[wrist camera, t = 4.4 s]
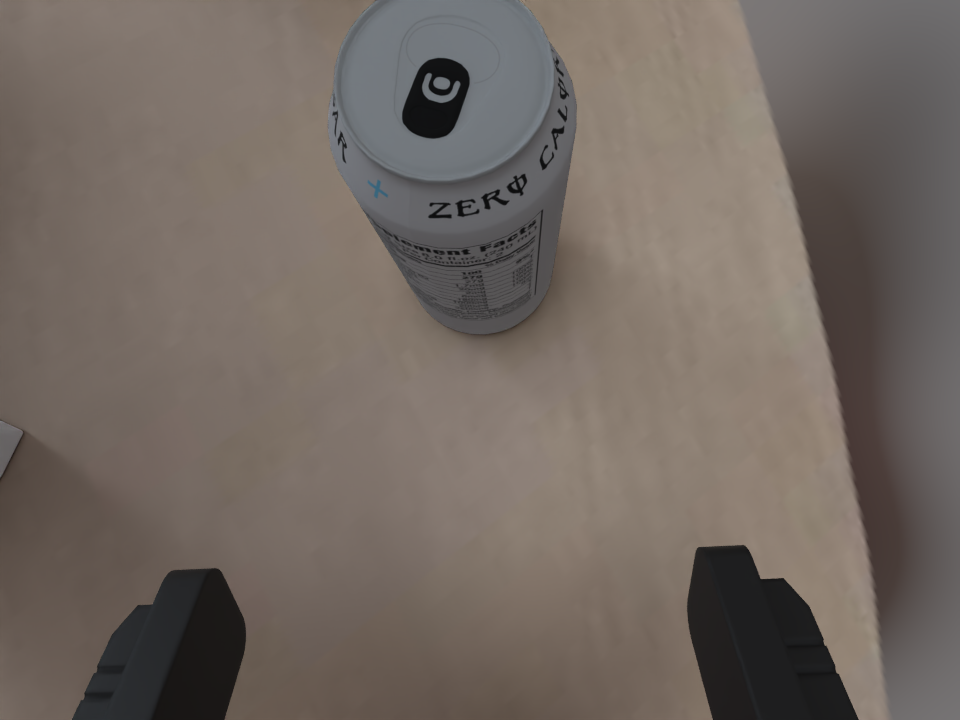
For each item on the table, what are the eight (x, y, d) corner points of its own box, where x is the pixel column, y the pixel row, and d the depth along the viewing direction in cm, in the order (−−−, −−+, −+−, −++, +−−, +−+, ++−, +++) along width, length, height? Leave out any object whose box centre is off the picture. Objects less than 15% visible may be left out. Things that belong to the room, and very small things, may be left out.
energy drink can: (570, 226, 30) (618, -11, 15) (526, 357, 29) (532, 244, 14) (439, 186, 30) (361, -78, 16) (393, 313, 30) (265, 162, 15)
